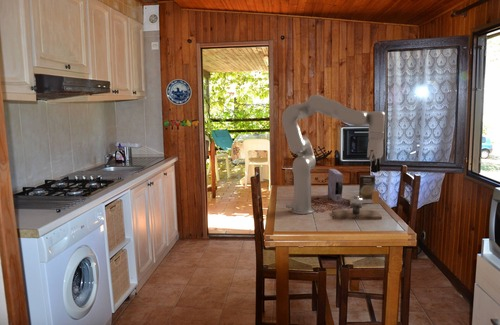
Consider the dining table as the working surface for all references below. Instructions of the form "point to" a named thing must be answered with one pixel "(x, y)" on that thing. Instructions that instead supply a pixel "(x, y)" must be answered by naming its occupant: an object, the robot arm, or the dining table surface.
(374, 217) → the bayonet base
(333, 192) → the cake pan box
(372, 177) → the coffee box
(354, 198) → the twist collar
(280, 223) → the dining table surface
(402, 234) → the dining table surface
